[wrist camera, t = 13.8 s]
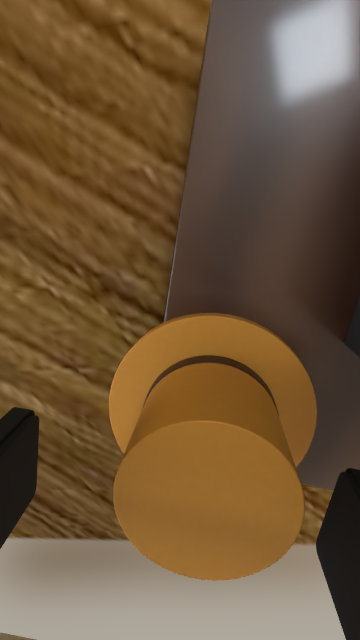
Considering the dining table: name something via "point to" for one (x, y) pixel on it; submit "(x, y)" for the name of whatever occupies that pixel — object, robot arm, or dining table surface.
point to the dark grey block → (354, 331)
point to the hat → (211, 445)
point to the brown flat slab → (281, 198)
